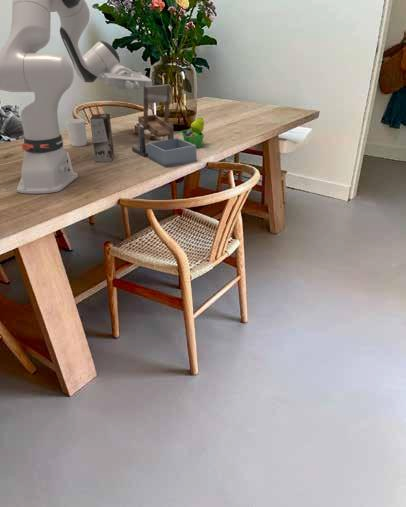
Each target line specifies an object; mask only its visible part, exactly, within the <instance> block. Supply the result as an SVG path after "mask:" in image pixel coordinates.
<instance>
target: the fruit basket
mask: <svg viewBox="0 0 406 507" xmlns="http://www.w3.org/2000/svg"><path fill="white" fill-rule="evenodd" d="M204 124H205V121H204V118H202V117H201V116H200V117H197V118H196V120H194V121H193V122H192V123H191V124H190V128H189V129H188V130H187V129H185V130H181V134H182V136H183V137H182V138H183V140H184V141H187V142H189V143H192V144H194V145H196V148H201V147H202V145H203V144H202V143H203V140H204V137H205V135H204V134H203V131H204V128H205V127H204Z"/></svg>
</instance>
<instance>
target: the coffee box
mask: <svg viewBox="0 0 406 507" xmlns="http://www.w3.org/2000/svg"><path fill="white" fill-rule="evenodd" d="M89 121H90V130H91V137H92V143H93V151H94V152H93V154H94V160H95V162H96V163H97V162H99V163H100V162H112V161H113V158H114V155H115V150H114V142H113V134H112V126H111V114H110V113H98V114H94V113H93V114H92V116H91V117H90V118H89Z"/></svg>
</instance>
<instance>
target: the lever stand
mask: <svg viewBox="0 0 406 507" xmlns="http://www.w3.org/2000/svg"><path fill="white" fill-rule="evenodd" d="M168 124H169V125H170V126H172V127H173V128H174V123H172V122H168ZM137 132H138V142H139V143H138V145H136V146H132V147H131V151H132V152H133V153H135V154H136V155H139V156H141V157H143V158H148V146H147V144H146V139H145V137H146V135H145V130H144V128H143V126H140V127H137ZM174 132H175V130H173V134H171V135H169V136H167V140H168V139H174V138H175V136H174V135H175V134H174Z"/></svg>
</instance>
